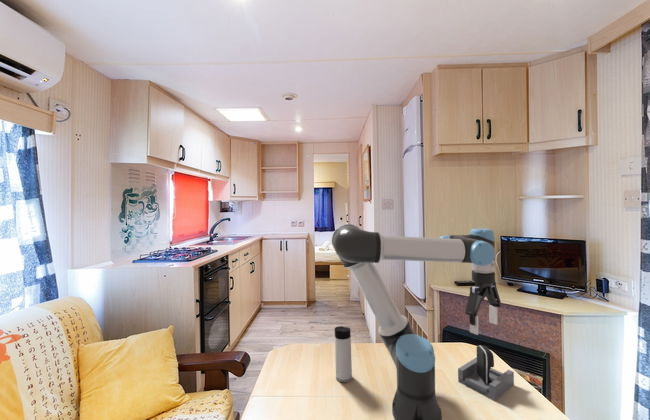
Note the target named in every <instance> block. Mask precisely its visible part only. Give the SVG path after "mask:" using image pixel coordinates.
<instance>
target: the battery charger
mask: <svg viewBox="0 0 650 420" xmlns="http://www.w3.org/2000/svg"><path fill="white" fill-rule="evenodd" d="M476 357H477V373H478V375H479V376H480V378H481V379H482V381H483V382H484V383H486V384H487V383H491V382H492V380H491V378H490V377H489V370H490V369H491V368H494V367H495V357H494V354H493V352H492V351H491V350H490V349H489V347H488V346H486V345H479V344H478V345H477V346H476Z"/></svg>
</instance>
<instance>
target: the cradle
mask: <svg viewBox="0 0 650 420" xmlns="http://www.w3.org/2000/svg"><path fill="white" fill-rule="evenodd" d="M457 376H458V377H457V381H458V382H459V383H460V384H461V385H463V386H465V387H467V388H468V389H471V390H473V391H475V392H476V393H478V394H479V395H482V396H483V397H486V398H488V399H489V400H492V401H493V402H496V401H497V400H498V399H500V398H501V397H502V396H503V395H505V394H506V393H507V392H508V391H509V390H511V388H513V387H514V386H515V380H514V379H515V378H514V377H515V373H514V371H513V370H511V369H508V370H506V371H504V372H501V371H498V370H497V369H494V368H493V367H491V369H490V370H489V377H490V378H491V380H492V382H491V383H487V384H486V383H484V382H483V381H482V379H481V378H480V376H479V375H478V373H477V356H476V357H475V358H473V359H472V360H470V361H468V362H466V363H465V364H463V365H461V366H460V367H459V368H457Z"/></svg>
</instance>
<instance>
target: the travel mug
mask: <svg viewBox="0 0 650 420" xmlns="http://www.w3.org/2000/svg"><path fill="white" fill-rule="evenodd" d="M334 355H335V358H334V359H335V378H336V379H335V380H336V381H338V382H339V381H340V383H343V382H345V383H348V382H350V381H352V379H353V373H352V372H353V371H352V370H353V367H352V361H353V360H352V338H351V328H350V327H345V326H341V325H340V326H336V327H334Z"/></svg>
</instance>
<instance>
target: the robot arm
mask: <svg viewBox="0 0 650 420" xmlns="http://www.w3.org/2000/svg"><path fill="white" fill-rule="evenodd" d="M331 236H332V237H331V245H332V248H333V249H334V251H335V253H336V255H337V256H338V258H339V260H340V262H341V263H342V266H343V267H344V269H348V270H350V271H351V274H352V276H353V277H354V279H355V281H356V283H357V285H358V287H359V289H360V290H361V294H363V296H364V298H365V300H366V301H367V304H368V306H369V307H370V310H371V312H372V313H373V316H374V317H375V319H376V321H377V323H378V325H379V326H378V330H377V331H378V334H379V335H380V337H381V340H382V341H383V344H384V346H385V348H386V349H387V351H388V352H389V355H390V357H391V360H392V361H393V363H394V365H395V369H396V391H395V393H394V397H393V400H392V402H391V403H392V404H391V411H392V412H391V414H392V417H393V419H394V420H443V413H442V409H441V406H440V405H439V400H438V398H437V395H436V355H435V349H434V346H433V344H432V343H431V342H430V341H429V340H428V339H427V338H425V337H422V336H421V335H418V334H417V333H415V331H414V328H413V327H412V325H411V323H410V321H409V319H408V318H407V317H406V316H405V315H403V314H401V313H400V311H399V309H398V307H397V305H396V304H395V302H394V300H393V298H392V295H391V294H390V292H389V290H388V288H387V286H386V284H385V282H384V280H383V279H382V276H381V274H380V273H379V271H378V269H377V267H376V265H375V264H377V263H378V264H379V263H380V262H382V260H383V261H408V262H410V261H411V262H433V263H434V262H436V263H441V262H442V263H462V264H471V270H472V271H471V281H472V282H474V283H475V285H474V286H470V287H469V296H468V298H467V299H468V300H467V303H466V308H465V313H464V314H465V315H468V316H469V333H471V334H474V335H476V336H478V335H479V315H478V312H479V310H480V307H481V305H482V301H483V300H485V298H486V300H488V303H489V304H490V305H488V322H489V323H490V324H493V325H496V326H497V325H498V324H499V323H498V322H499V321H498V319H499V318H498V308H500V307H501V298H500V295H499V291H498V289H497V282H496V273H495V270H496V265H497V264H496V261H495V259H496V250H495V246H496V245H495V244H496V240H495V231H494V230H493V229H491V228H481V227H480V228H479V227H478V228H472V229H471V230H470V233H469V234H461V235H460V234H457V235H456V234H455V235H454V234H453V235H452V234H450V235H449V234H448V235H441V236H440V237H422V236H420V237H419V236H415V237H414V236H395V235H393V236H392V235H382V234H381V233H380V232H377V231H376V232H375V231H368V230H364V229H360V228H359V227H358V226H357V225H354V224H352V223H349V224H348V223H346V224H343V225H340V226H339V227H338V228H336V229H335V230H334V232H333V233H332V235H331Z"/></svg>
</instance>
